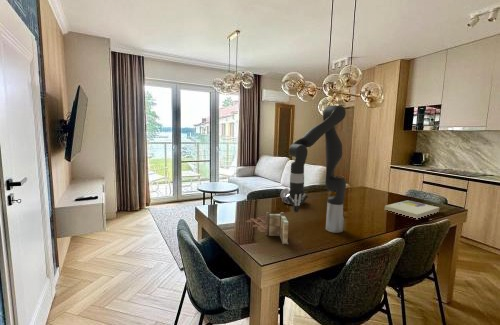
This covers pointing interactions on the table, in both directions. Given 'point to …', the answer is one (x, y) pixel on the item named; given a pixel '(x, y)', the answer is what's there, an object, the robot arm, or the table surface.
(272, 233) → the fixed leg
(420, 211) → the puzzle box
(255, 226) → the decorative fence
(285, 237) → the gate panel
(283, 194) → the toy elephant
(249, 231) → the table surface
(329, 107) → the robot arm
